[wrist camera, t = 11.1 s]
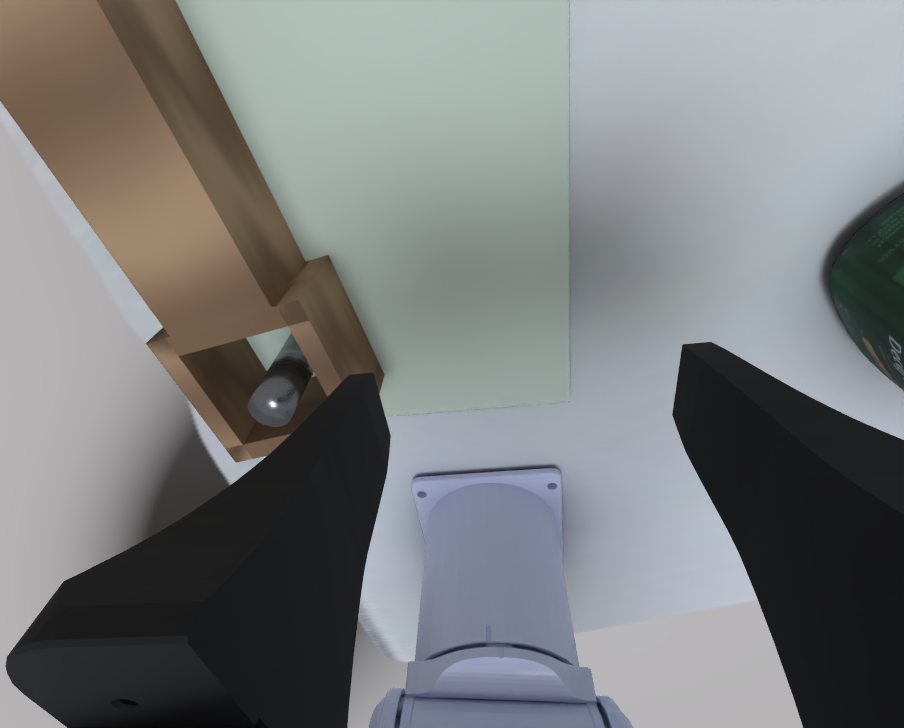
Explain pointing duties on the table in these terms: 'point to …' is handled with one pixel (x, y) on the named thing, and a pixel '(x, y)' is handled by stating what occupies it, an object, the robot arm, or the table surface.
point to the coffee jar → (875, 289)
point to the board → (417, 178)
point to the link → (177, 203)
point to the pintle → (281, 386)
